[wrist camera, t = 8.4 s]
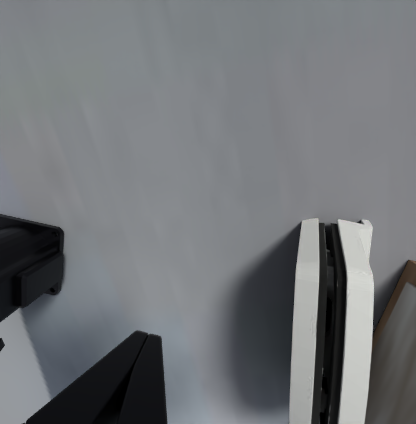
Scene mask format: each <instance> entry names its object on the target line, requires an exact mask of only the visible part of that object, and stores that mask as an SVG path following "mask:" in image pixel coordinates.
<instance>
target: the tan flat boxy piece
mask: <svg viewBox="0 0 416 424" xmlns="http://www.w3.org/2000/svg"><path fill="white" fill-rule="evenodd" d="M364 424H416V261H411V260H408V263H407V265H406V267H405V269H404V271H403V273H402V275H401V277H400V279H399V281H398V284H397V286H396V288H395V290H394V292H393V294H392V296H391V298H390V300H389V302H388V304H387V307H386V309H385V311H384V313H383V315H382V317H381V319H380V321H379V323H378V325H377V327H376V330H375V332H374V334H373V336H372V352H371V364H370V377H369V389H368V399H367V407H366V415H365V423H364Z"/></svg>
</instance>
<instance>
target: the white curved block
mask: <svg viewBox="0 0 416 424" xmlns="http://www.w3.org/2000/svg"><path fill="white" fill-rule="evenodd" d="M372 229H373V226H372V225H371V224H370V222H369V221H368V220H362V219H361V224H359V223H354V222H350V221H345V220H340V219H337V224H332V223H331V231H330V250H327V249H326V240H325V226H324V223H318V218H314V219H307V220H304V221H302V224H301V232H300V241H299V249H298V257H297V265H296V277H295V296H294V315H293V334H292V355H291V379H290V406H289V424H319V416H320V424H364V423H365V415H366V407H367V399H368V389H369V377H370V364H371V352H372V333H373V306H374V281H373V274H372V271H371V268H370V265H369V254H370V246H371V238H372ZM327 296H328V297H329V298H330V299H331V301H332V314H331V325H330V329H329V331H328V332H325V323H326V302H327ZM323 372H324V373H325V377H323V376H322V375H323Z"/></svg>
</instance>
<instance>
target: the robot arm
mask: <svg viewBox="0 0 416 424" xmlns="http://www.w3.org/2000/svg"><path fill="white" fill-rule="evenodd" d="M55 231H56V232H57V234H58V235H56V233H55ZM63 235H64V233H63V230H62V229H61V228H60V227H56V226H52V225H47V224H43V223H38V222H34V221H29V220H25V219H20V218H16V217H11V216H7V215H2V214H0V322H1V321H2V320H4V319H5V318H6V317H8V316H9V315H10V314H12V313H13V312H14V311H16V310H17V309H18V308H25V307H26V306H28V305H29V304H31V303H32V302H33V301H34V300H36V299H37V298H38V297H39V296H41V295H42V294H43V293H46V294H51V295H56V294H57V293H58V292H59V291H60V290H61V279H62V273H63ZM53 288H54V289H55V290H54V289H53ZM4 346H5V344H4V342H3V340H2V338H0V351H1V350H2V348H3V347H4ZM23 424H25V423H23ZM26 424H167V411H166V396H165V382H164V367H163V353H162V338H161V336H158V335H154V334H149V335H148V333H146V332H142V331H138V330H137V331H135V332H134V333H132V334H131V335H130V336H129V337H128V338H126V339H125V340H124V341H123V342H122V343H120V344H119V345H118V346H117V347H115V348H114V349H113V350H112V351H111V352H109V353H108V354H107V355H106V356H104V357H103V358H102V359H101V360H100V361H98V362H97V363H96V364H95V365H93V366H92V367H91V368H90V369H89V370H87V371H86V372H85V373H84V374H83V375H81V376H80V377H79V378H78V379H76V380H75V381H74V382H73V383H72V384H70V385H69V386H68V387H67V388H65V389H64V390H63V391H62V392H61V393H59V394H58V395H57V396H56V397H54V398H53V399H52V400H51V401H50V402H48V403H47V404H46V405H45V406H44V407H42V408H41V409H40V410H39V411H38V412H36V413H35V414H34V415H33V416H31V417H30V418H29V419H28V420H27V421H26Z"/></svg>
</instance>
